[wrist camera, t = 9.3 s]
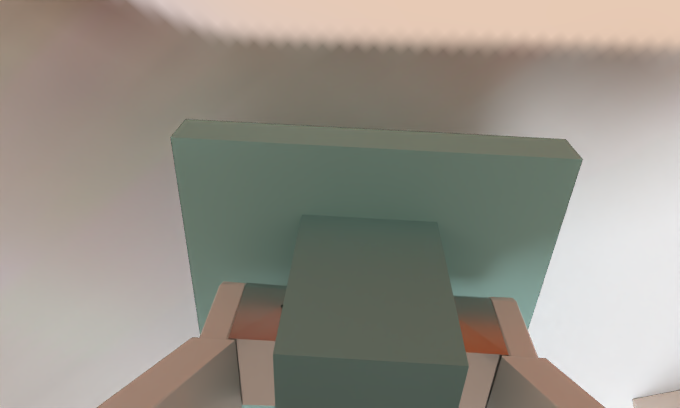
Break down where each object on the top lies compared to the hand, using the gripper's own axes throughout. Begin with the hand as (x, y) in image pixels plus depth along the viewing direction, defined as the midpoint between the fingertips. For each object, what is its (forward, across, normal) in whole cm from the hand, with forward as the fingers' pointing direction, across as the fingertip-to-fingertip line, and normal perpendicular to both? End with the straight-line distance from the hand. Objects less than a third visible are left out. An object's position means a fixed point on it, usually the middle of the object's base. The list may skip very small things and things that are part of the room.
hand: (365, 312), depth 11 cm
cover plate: (+2, 0, -4) cm, 5 cm away
